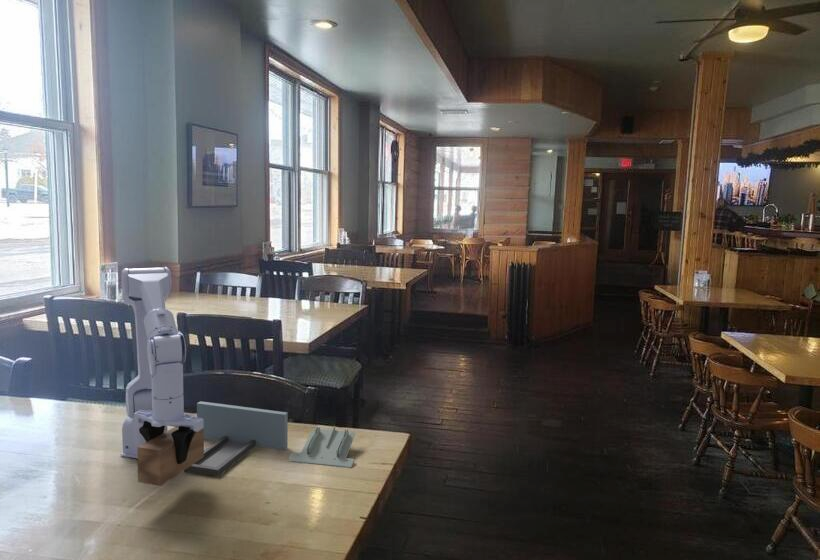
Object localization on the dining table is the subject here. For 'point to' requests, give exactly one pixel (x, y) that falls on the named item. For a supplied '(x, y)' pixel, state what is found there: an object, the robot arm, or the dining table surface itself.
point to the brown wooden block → (166, 457)
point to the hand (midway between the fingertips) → (169, 459)
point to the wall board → (237, 434)
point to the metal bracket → (326, 448)
